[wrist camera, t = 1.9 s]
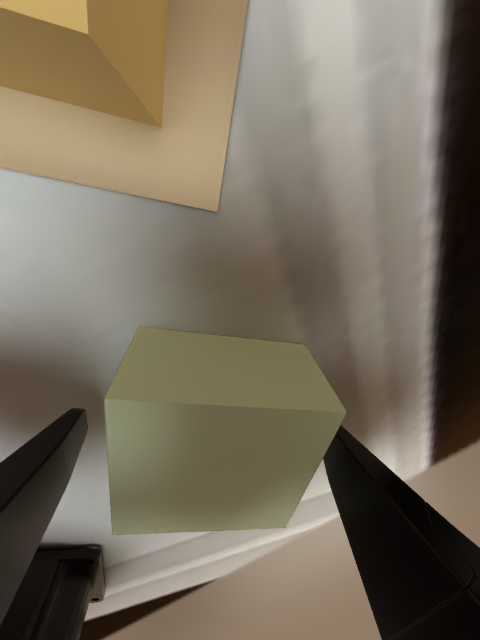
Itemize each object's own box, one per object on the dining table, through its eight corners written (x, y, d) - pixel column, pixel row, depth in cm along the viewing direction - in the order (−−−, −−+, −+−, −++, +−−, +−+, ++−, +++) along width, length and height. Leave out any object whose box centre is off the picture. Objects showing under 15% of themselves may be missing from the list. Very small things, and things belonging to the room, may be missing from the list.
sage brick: (265, 443, 12) (285, 527, 9) (137, 439, 11) (112, 534, 8) (303, 341, 10) (347, 412, 7) (141, 322, 9) (103, 398, 6)
